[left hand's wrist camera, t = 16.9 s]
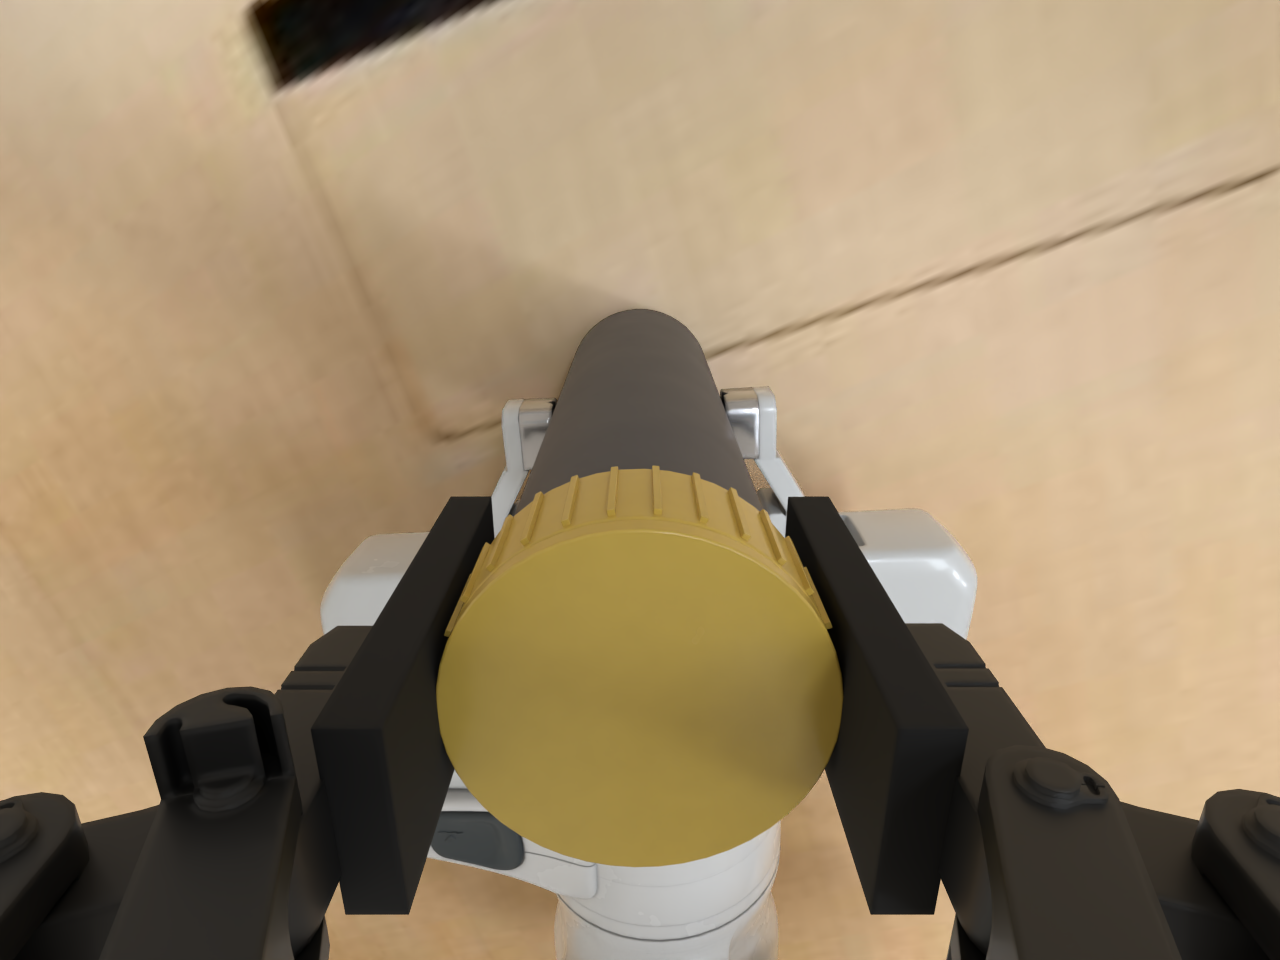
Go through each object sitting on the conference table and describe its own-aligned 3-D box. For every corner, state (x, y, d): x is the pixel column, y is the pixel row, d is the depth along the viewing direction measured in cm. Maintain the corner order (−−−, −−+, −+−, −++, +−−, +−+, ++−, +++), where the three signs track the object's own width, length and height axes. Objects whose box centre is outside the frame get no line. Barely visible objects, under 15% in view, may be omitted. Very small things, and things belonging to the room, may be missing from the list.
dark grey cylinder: (632, 466, 30) (621, 874, 12) (544, 370, 29) (387, 671, 11) (734, 384, 29) (887, 703, 11) (647, 279, 27) (661, 451, 10)
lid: (887, 602, 12) (938, 689, 10) (662, 815, 14) (667, 928, 12) (611, 386, 11) (604, 434, 9) (397, 648, 13) (348, 741, 11)
